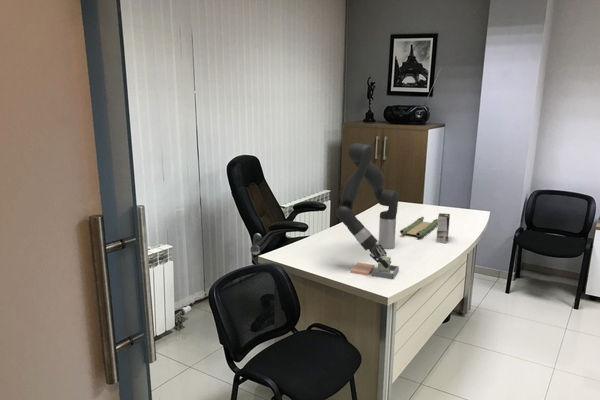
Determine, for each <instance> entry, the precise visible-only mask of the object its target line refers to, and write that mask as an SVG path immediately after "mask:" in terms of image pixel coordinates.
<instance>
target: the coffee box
mask: <svg viewBox="0 0 600 400" xmlns="http://www.w3.org/2000/svg"><path fill="white" fill-rule="evenodd" d="M450 215H451V213H439V214H438V216H437V219H438V225H437V226H436V227H437V228H436V242H435V243H440V244H447V243H448V240H449V233H450V232H449V230H450V218H451V216H450Z"/></svg>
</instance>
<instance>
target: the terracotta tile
mask: <svg viewBox="0 0 600 400" xmlns="http://www.w3.org/2000/svg"><path fill="white" fill-rule="evenodd" d="M375 266H376V265H375V264H371V263H364V262H356V263H355V265H353V267H352V268H351V269H350V271H349V273H352V274H359V275H364V276H368V275H370V274H371V273H372V271H374V269H375Z"/></svg>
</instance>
